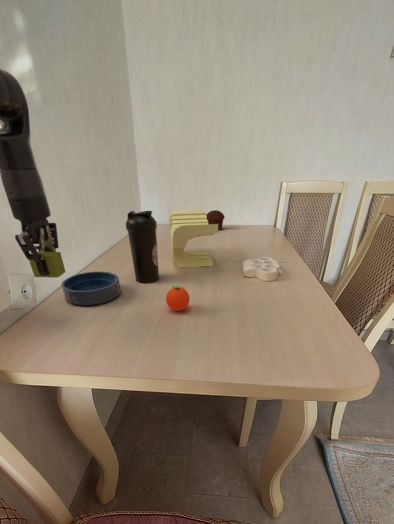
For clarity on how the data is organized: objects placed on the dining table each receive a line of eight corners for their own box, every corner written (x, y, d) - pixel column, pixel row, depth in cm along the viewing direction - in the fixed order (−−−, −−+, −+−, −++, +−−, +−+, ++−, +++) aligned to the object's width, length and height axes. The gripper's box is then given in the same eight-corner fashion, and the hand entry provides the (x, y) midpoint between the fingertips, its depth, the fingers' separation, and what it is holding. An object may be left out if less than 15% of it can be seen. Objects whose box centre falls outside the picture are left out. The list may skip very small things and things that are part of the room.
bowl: (56, 306, 91) (51, 291, 88) (78, 284, 105) (74, 271, 103) (112, 307, 90) (109, 292, 87) (126, 285, 104) (124, 271, 102)
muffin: (210, 232, 169) (211, 213, 163) (201, 228, 177) (201, 210, 171) (228, 229, 174) (228, 211, 168) (218, 226, 182) (218, 208, 176)
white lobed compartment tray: (242, 264, 121) (278, 265, 120) (243, 280, 107) (284, 281, 105) (242, 256, 120) (279, 257, 118) (244, 271, 105) (286, 272, 103)
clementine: (162, 305, 90) (160, 283, 86) (183, 301, 93) (182, 279, 89) (171, 316, 84) (169, 293, 80) (193, 312, 87) (193, 289, 83)
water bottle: (159, 284, 105) (153, 214, 92) (131, 284, 105) (120, 214, 92) (162, 274, 113) (157, 208, 100) (136, 274, 113) (127, 209, 101)
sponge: (34, 277, 72) (27, 256, 69) (42, 271, 75) (36, 251, 72) (58, 277, 71) (52, 256, 68) (65, 271, 74) (60, 251, 72)
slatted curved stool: (171, 253, 136) (168, 211, 126) (205, 251, 138) (205, 209, 128) (175, 275, 112) (172, 225, 102) (216, 273, 113) (218, 224, 103)
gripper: (27, 189, 69) (49, 262, 79) (-13, 198, 57) (18, 282, 67) (58, 189, 69) (76, 262, 78) (24, 198, 57) (50, 283, 67)
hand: (49, 271), depth 73 cm, fingers closed on sponge, 4 cm apart
